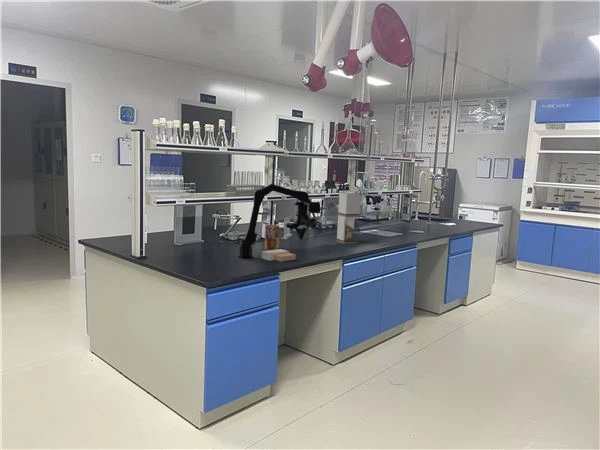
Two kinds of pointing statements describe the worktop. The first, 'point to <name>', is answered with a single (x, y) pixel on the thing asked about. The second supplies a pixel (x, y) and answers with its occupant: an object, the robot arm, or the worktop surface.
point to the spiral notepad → (272, 254)
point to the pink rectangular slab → (285, 257)
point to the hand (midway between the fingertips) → (301, 239)
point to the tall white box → (347, 216)
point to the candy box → (272, 237)
